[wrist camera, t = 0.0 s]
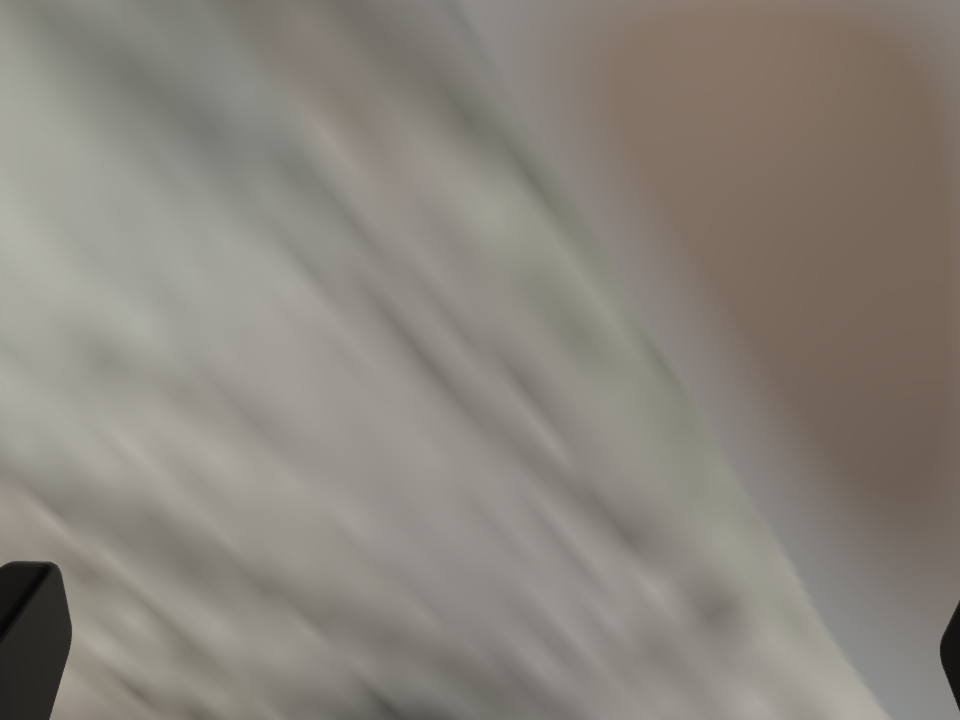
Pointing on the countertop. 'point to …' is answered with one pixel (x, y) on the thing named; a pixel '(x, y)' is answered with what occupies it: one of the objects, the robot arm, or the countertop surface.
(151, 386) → the countertop surface
